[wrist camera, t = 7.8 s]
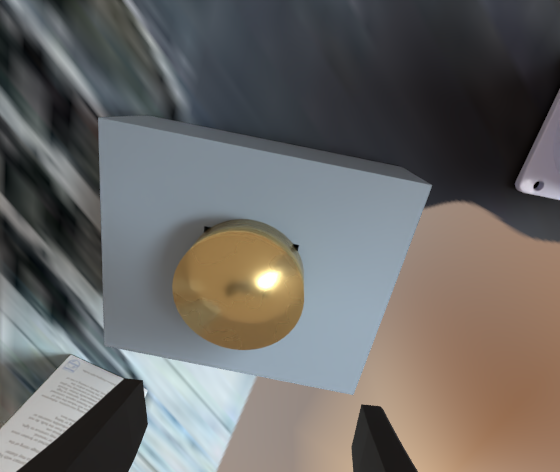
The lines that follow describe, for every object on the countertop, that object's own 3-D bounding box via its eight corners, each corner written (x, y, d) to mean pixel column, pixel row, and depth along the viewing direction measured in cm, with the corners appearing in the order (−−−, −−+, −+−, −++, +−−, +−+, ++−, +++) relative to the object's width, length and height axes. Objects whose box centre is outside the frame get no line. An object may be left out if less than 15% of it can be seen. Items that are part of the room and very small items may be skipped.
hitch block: (401, 166, 17) (432, 185, 13) (343, 340, 22) (353, 394, 18) (147, 115, 17) (98, 117, 13) (142, 300, 22) (104, 345, 18)
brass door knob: (311, 205, 18) (316, 248, 12) (295, 289, 20) (292, 359, 14) (213, 188, 18) (173, 224, 12) (207, 274, 20) (170, 338, 15)
